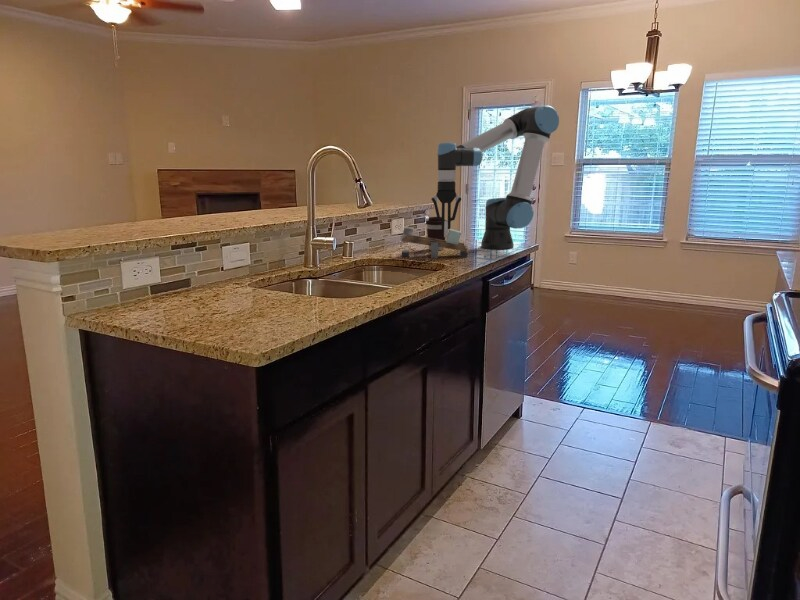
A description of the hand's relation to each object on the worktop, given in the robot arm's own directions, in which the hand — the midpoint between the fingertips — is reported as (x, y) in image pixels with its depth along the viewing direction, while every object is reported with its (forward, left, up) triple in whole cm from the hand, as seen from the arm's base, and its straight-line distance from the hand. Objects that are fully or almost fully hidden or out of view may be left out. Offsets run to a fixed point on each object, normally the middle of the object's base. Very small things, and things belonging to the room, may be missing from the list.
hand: (445, 236), depth 241 cm
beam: (+5, 0, -3) cm, 6 cm away
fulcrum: (+5, 0, -8) cm, 10 cm away
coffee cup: (+4, -20, -9) cm, 22 cm away
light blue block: (-3, 0, -3) cm, 4 cm away
